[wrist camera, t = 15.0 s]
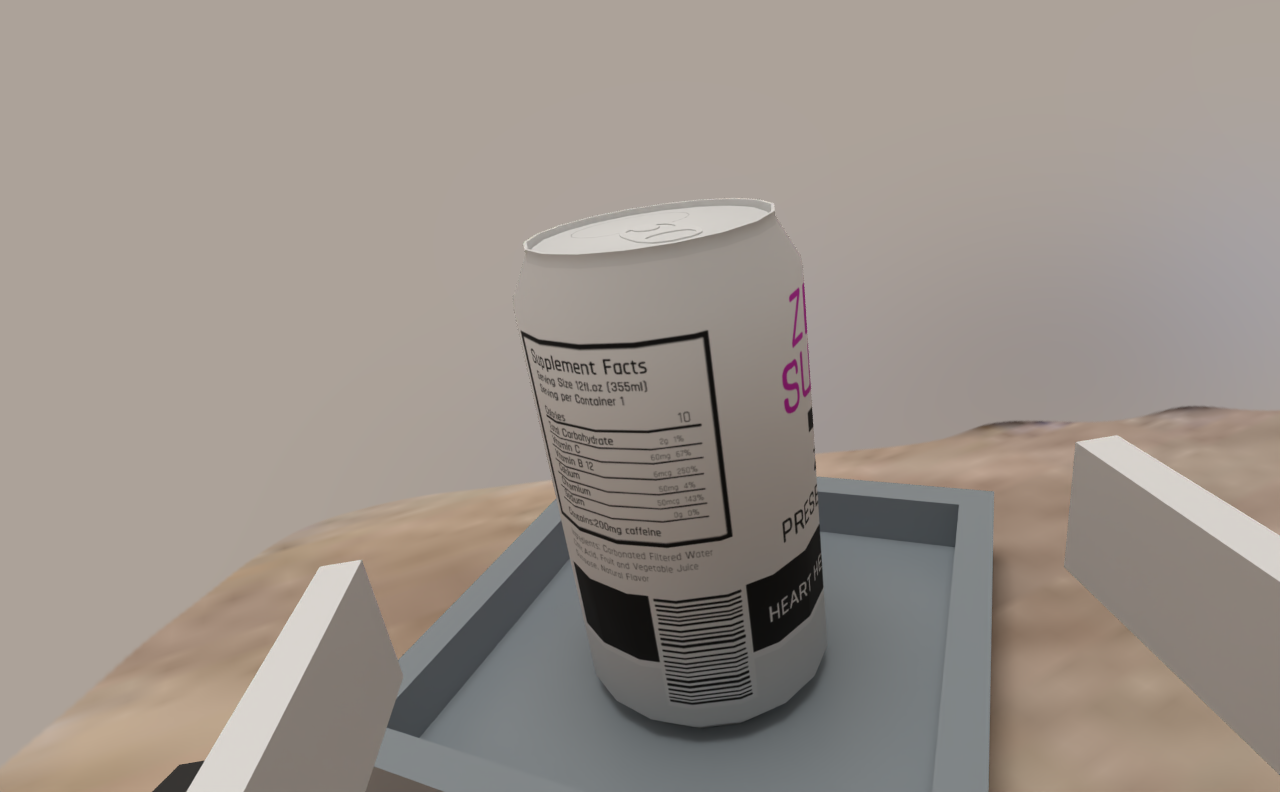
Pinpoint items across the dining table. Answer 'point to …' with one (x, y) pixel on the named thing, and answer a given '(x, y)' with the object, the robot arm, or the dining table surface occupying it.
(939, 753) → the tray
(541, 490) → the dining table surface
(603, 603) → the supplement can
